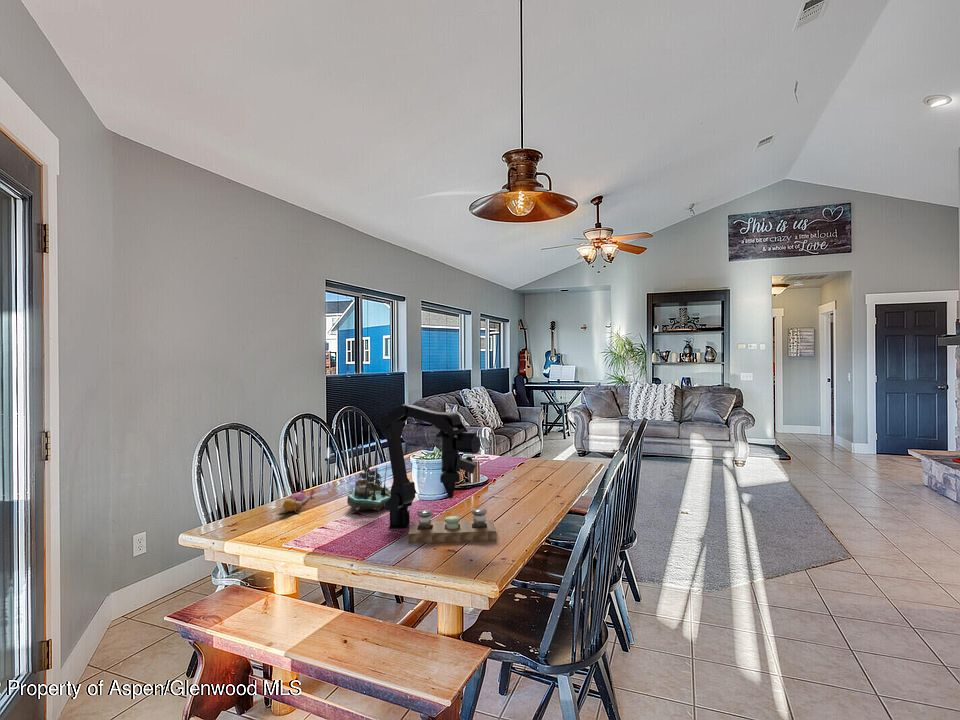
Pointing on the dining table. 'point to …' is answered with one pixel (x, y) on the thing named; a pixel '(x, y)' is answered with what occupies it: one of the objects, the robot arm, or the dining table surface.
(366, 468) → the diorama
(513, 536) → the dining table surface
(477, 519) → the plunger
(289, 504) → the figurine
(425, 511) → the plunger
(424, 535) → the walnut board
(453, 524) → the sage plug
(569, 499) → the dining table surface
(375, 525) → the dining table surface
